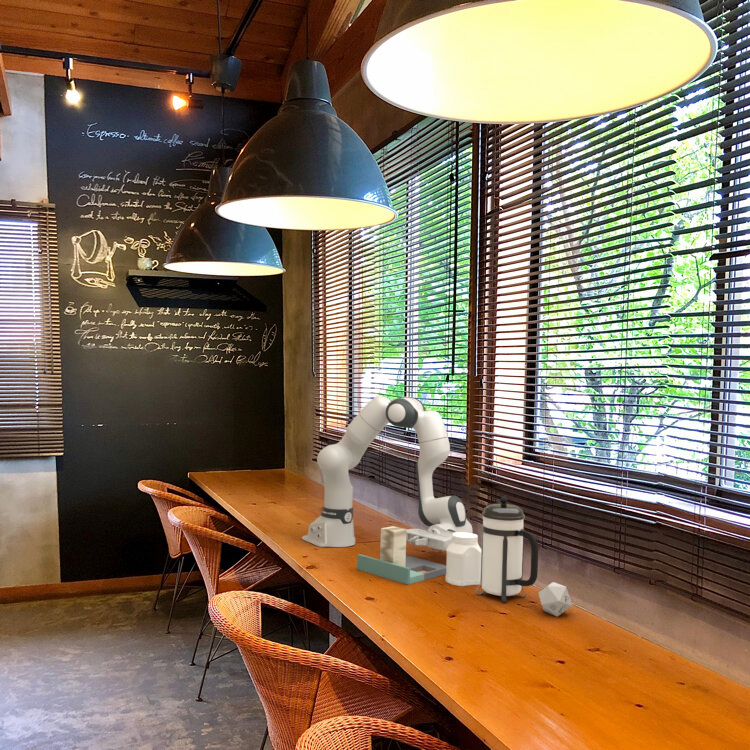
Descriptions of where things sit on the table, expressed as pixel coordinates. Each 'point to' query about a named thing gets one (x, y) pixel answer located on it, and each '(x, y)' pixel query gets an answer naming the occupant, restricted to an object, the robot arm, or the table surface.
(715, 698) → the table surface
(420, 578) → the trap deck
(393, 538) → the maple block
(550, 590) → the die
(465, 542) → the jar
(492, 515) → the coffee press
